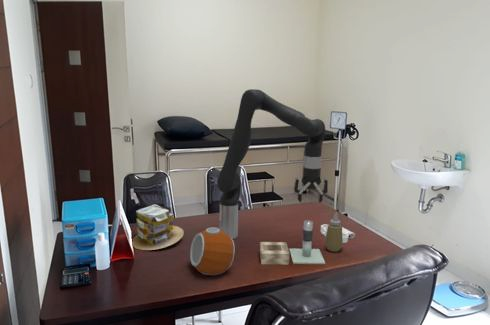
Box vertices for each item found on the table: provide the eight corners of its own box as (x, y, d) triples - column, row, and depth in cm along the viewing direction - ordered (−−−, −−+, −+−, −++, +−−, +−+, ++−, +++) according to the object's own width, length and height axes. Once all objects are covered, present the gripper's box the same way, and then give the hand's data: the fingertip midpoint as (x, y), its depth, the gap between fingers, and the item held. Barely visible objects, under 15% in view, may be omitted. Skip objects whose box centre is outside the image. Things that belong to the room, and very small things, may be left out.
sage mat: (293, 263, 172) (293, 262, 172) (289, 249, 186) (289, 248, 186) (325, 264, 172) (325, 262, 172) (318, 250, 186) (319, 248, 186)
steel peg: (302, 257, 177) (304, 223, 173) (300, 253, 181) (302, 220, 178) (312, 257, 177) (314, 223, 173) (310, 253, 181) (312, 220, 178)
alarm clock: (185, 261, 172) (185, 224, 168) (223, 255, 178) (224, 219, 175) (198, 282, 155) (198, 241, 151) (239, 274, 161) (240, 235, 158)
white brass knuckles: (359, 240, 199) (336, 245, 193) (336, 227, 215) (314, 232, 208) (359, 234, 199) (336, 238, 192) (336, 222, 214) (314, 226, 208)
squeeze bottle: (332, 254, 182) (334, 217, 178) (321, 247, 189) (323, 211, 185) (345, 251, 185) (348, 215, 181) (334, 244, 192) (337, 209, 188)
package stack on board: (136, 255, 177) (135, 220, 173) (128, 234, 199) (126, 203, 195) (189, 246, 187) (189, 213, 183) (176, 228, 209) (175, 197, 205)
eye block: (261, 264, 171) (261, 253, 170) (259, 252, 182) (260, 241, 181) (288, 264, 171) (289, 253, 170) (285, 252, 183) (286, 242, 182)
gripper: (296, 167, 166) (294, 204, 170) (330, 168, 166) (327, 205, 170) (294, 163, 173) (292, 199, 177) (326, 164, 174) (324, 199, 177)
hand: (309, 201), depth 173 cm, fingers open, 8 cm apart
